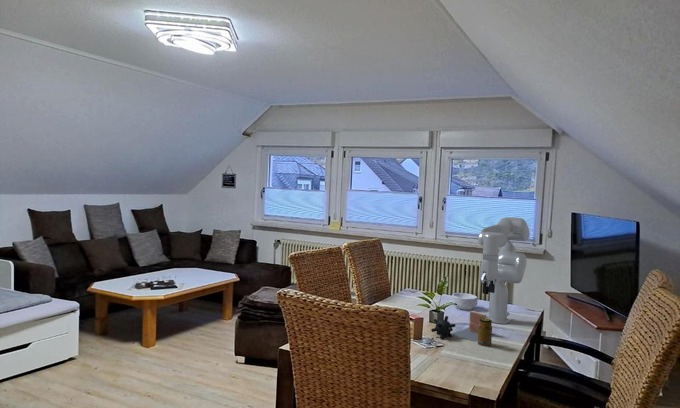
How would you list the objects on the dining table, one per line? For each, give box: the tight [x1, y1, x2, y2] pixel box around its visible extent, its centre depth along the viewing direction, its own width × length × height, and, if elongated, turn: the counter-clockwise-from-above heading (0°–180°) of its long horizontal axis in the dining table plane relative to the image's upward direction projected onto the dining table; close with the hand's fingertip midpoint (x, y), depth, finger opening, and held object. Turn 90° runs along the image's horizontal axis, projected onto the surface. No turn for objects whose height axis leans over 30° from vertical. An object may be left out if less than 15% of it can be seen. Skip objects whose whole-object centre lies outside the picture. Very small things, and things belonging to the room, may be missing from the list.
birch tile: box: [468, 310, 487, 334], centre depth 229 cm, size 2×8×10 cm, turn 42°
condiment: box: [477, 318, 493, 347], centre depth 211 cm, size 7×8×12 cm
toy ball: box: [431, 315, 457, 340], centre depth 221 cm, size 11×11×12 cm
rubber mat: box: [450, 327, 497, 343], centre depth 227 cm, size 20×14×1 cm
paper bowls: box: [451, 292, 478, 311], centre depth 281 cm, size 15×15×8 cm
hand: (488, 292), depth 235 cm, fingers open, 5 cm apart
